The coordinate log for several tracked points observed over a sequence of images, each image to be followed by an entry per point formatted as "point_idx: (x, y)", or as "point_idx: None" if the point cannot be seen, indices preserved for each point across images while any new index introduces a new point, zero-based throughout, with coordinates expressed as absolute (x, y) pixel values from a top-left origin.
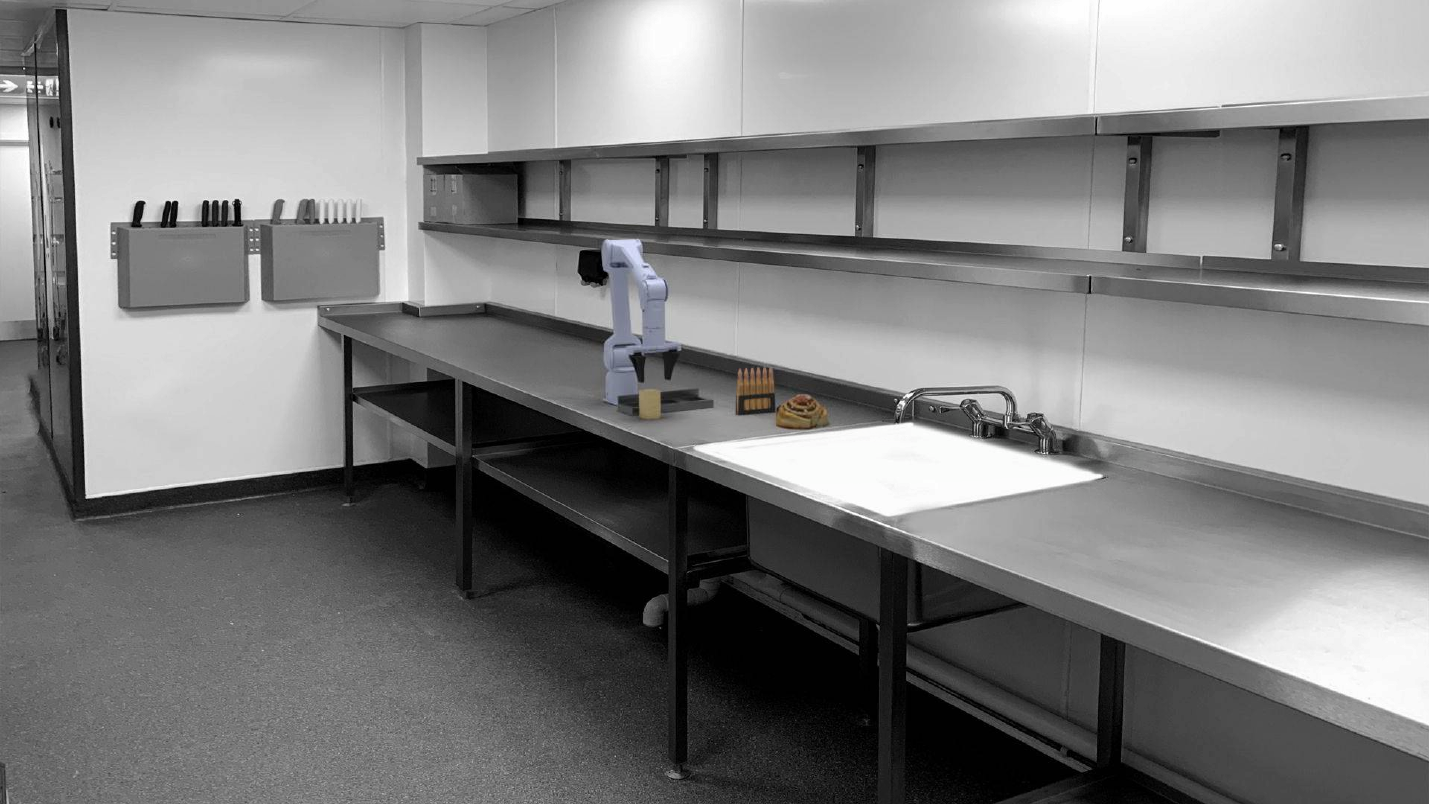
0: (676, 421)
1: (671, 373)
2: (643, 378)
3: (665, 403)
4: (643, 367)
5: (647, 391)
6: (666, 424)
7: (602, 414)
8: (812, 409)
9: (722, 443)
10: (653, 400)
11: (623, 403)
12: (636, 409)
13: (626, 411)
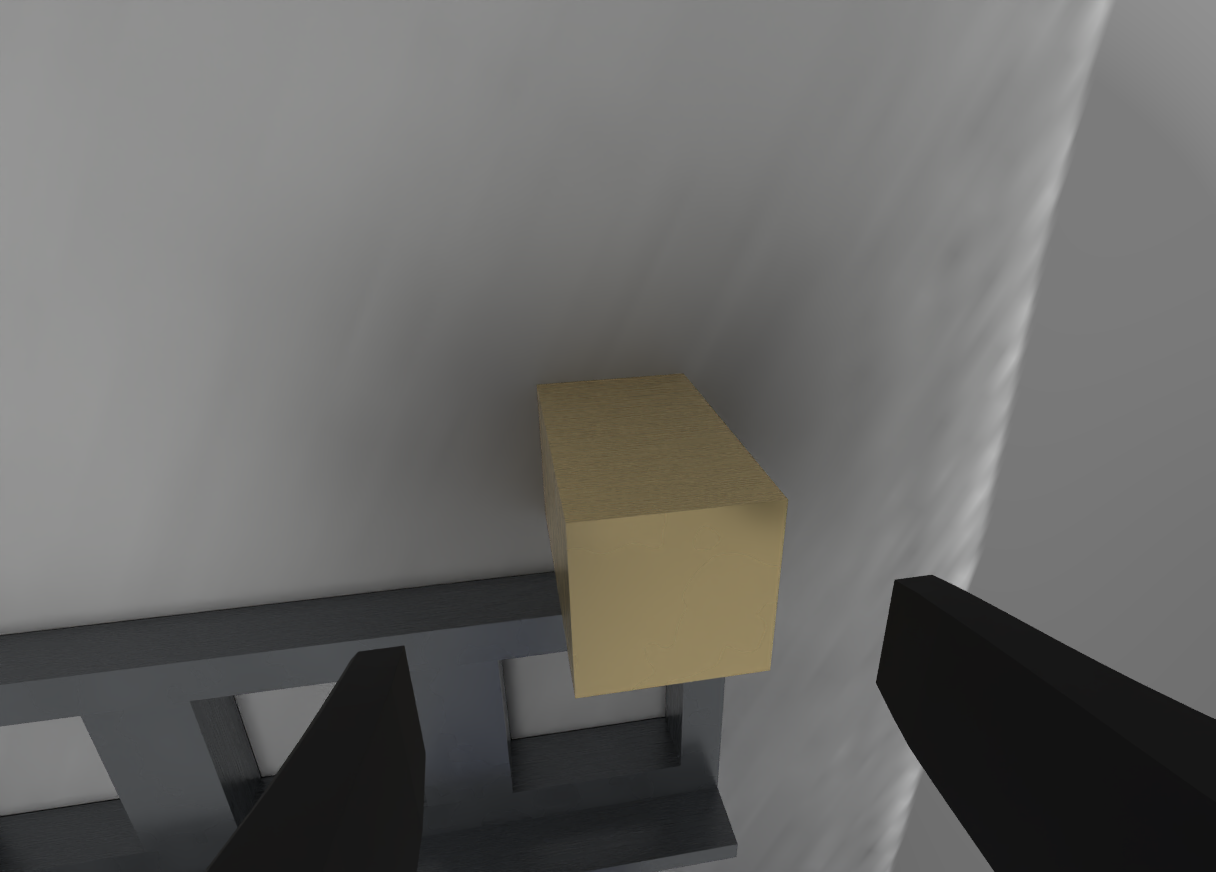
0: (465, 128)
1: (315, 737)
2: (964, 608)
3: None
4: (1200, 766)
5: (742, 543)
6: (639, 16)
7: (845, 682)
8: None
9: None
10: (649, 454)
11: (680, 787)
12: None
13: None
